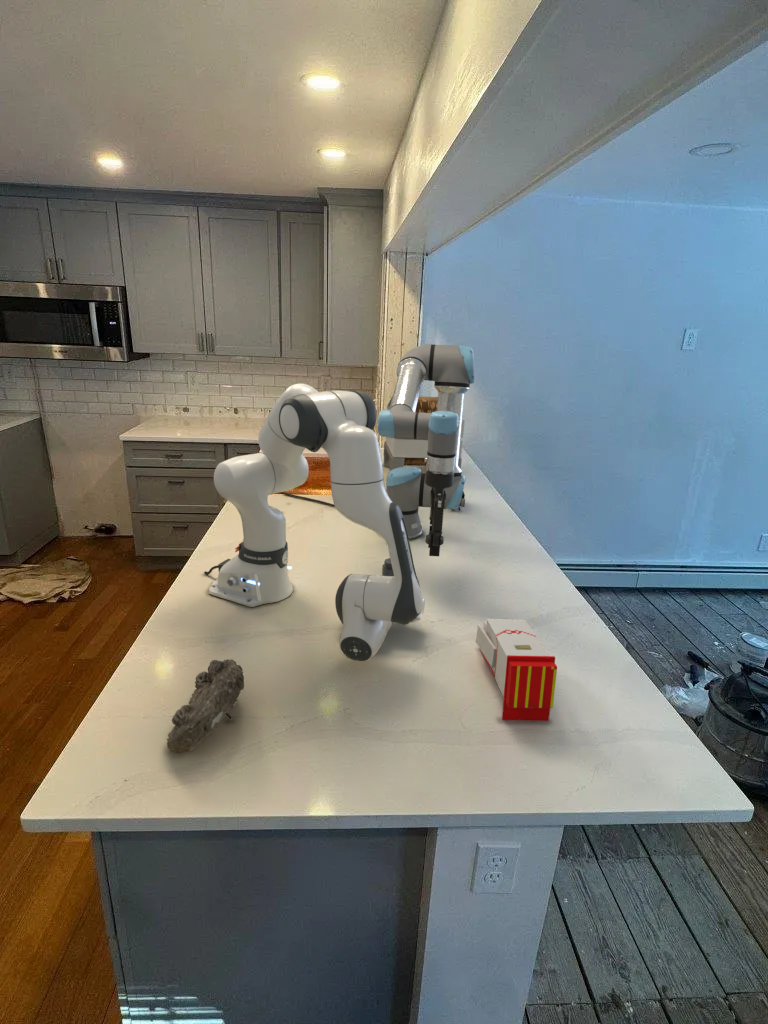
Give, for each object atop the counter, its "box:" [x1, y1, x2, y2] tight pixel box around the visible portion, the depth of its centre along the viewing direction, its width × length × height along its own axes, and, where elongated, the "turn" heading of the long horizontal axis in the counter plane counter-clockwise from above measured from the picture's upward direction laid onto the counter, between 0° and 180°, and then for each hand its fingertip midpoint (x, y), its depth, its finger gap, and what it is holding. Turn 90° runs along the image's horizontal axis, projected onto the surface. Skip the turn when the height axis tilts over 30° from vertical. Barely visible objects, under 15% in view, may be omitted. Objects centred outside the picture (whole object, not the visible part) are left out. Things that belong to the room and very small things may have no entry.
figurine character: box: [451, 490, 466, 511], centre depth 229 cm, size 7×8×15 cm
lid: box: [424, 533, 445, 546], centre depth 157 cm, size 5×5×2 cm
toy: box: [475, 618, 558, 722], centre depth 122 cm, size 12×13×30 cm
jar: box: [381, 557, 394, 576], centre depth 145 cm, size 4×4×15 cm
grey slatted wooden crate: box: [382, 395, 465, 472], centre depth 268 cm, size 34×33×41 cm
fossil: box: [166, 658, 245, 754], centre depth 106 cm, size 22×10×15 cm
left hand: (390, 588), depth 147 cm, fingers closed on jar, 4 cm apart
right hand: (433, 551), depth 158 cm, fingers closed on lid, 5 cm apart
